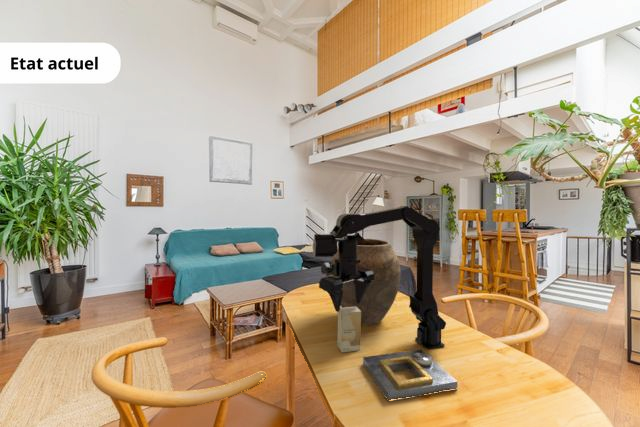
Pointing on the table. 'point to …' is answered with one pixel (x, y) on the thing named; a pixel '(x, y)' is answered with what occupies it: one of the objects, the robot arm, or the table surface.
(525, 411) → the table surface
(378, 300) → the vase
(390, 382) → the grey slotted board
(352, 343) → the skincare box
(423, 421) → the table surface
